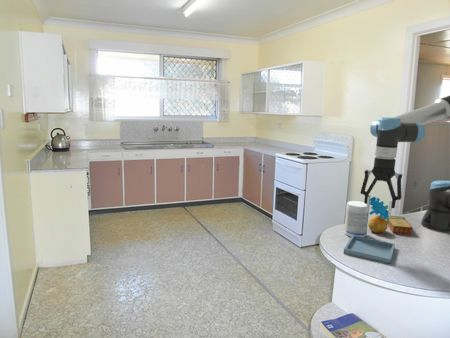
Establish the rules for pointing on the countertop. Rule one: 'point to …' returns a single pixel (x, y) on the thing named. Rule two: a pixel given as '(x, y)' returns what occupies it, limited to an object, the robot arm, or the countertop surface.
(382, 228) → the fruit
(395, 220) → the carton
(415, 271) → the countertop surface
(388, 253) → the tray
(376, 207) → the gear
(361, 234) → the supplement tub
